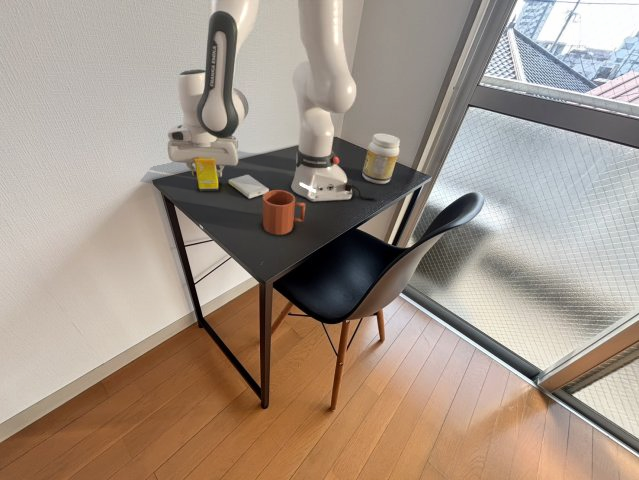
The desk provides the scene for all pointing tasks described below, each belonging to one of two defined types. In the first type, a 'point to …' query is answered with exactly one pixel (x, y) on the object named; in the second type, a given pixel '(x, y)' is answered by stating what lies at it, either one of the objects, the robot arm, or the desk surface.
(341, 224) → the desk surface
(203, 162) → the supplement box
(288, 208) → the mug
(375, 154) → the supplement tub
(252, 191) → the hard drive
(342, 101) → the robot arm
